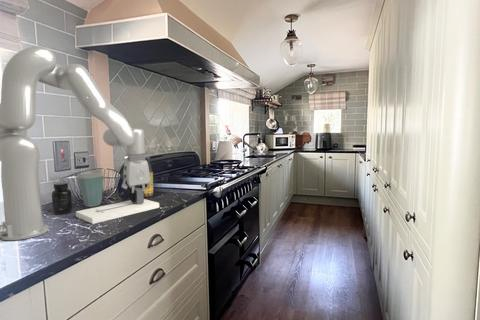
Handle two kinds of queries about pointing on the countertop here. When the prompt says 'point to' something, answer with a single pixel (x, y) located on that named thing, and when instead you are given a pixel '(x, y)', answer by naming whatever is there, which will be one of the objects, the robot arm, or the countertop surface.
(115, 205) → the board
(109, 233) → the countertop surface
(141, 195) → the fader tab
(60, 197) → the supplement bottle
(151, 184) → the sauce bottle
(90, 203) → the disposable coffee cup
